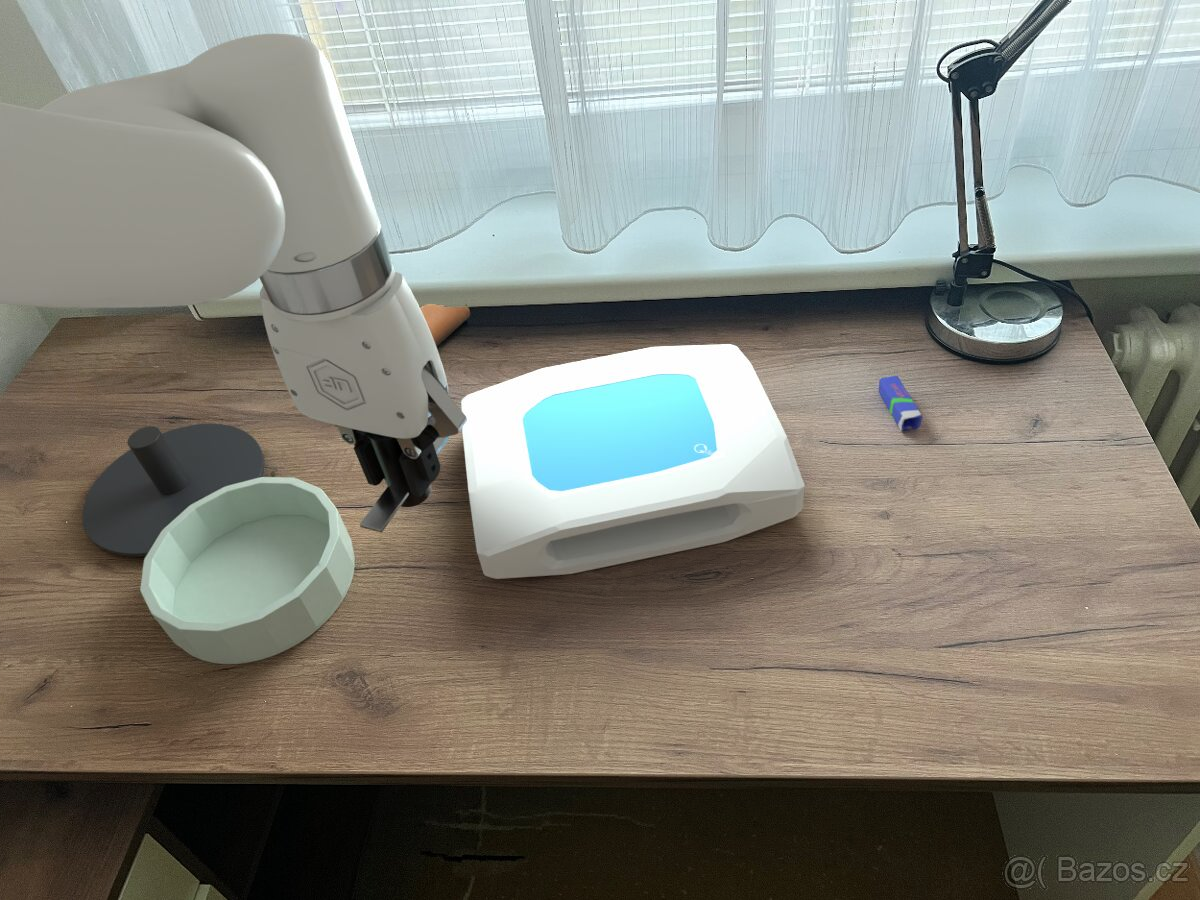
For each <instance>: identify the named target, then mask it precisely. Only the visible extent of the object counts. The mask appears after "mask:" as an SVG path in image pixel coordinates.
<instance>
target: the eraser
mask: <svg viewBox="0 0 1200 900" xmlns="http://www.w3.org/2000/svg"><path fill="white" fill-rule="evenodd" d="M878 394H879V395H880V397H881V399H882V401H883V403H884V404H885V406H886V407H887V409H888V411H889V412H890V415H891V416H892V418H893V420H894V421H895V423H896V425H897V427H898V428H899V430H900V431H901V432H903V431H910V430H916V429H917V430H918V429H919V428H920V426H921V423H922V420H923V415H922V414H921V412H920V410H919V409H918V407H917V405H916V404H915V402H914V400H913V399H912V397H911V396H910V394H909V392H908V390H907V389H906V387H905V386H904V384H903V382H902V380H901V379H900V377H899V376H898V375H893V376H892V375H891V376H885V377H881V378H880V379H879V382H878Z"/></svg>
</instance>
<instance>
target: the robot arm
mask: <svg viewBox="0 0 1200 900" xmlns="http://www.w3.org/2000/svg"><path fill="white" fill-rule="evenodd" d="M348 120H349V119H348V117H347V114H346V111H345V107H344V104H343V101H342V98H341V95H340V92H339V89H338V86H337V83H336V79H335V76H334V74H333V71H332V68H331V65H330V63H329V61H328V59H327V58H326V56H325V54H324V53H323V52H322V51H321V49H320V48H318V46H316V45H315V44H314V43H313V42H312V41H310V40H308V39H306V38H304V37H301V36H299V35H295V34H288V33H259V34H253V35H247V36H244V37H239V38H235V39H231V40H228V41H225V42H223V43H220V44H217V45H215V46H213V47H211V48H209V49H207V50H205V51H203V52H202V53H200V54H199V55H197V56H196V57H194V58H193V59H191V61H189V62H188V63H186V64H184V65H180V66H176V67H173V68H169V69H165V70H160V71H156V72H152V73H148V74H143V75H139V76H134V77H130V78H123V79H118V80H113V81H109V82H103V83H99V84H95V85H90V86H86V87H82V88H79V89H75V90H73V91H69V92H68V93H65V94H62V95H61V96H59V97H57V98H55V99H53V100H51V101H50V102H48V103H47V104H45V105H43V107H41V108H40V109H38V108H31V107H27V106H21V105H17V104H12V103H6V102H3V101H0V305H7V306H8V305H11V306H19V307H33V308H34V307H35V308H55V309H122V308H124V309H125V308H129V309H130V308H167V307H168V308H169V307H170V308H171V307H173V308H174V307H187V306H194V305H200V304H201V305H203V304H207V303H210V302H215V301H218V300H222V299H226V298H228V297H231V296H233V295H235V294H238V293H240V292H243V291H244V290H245V289H247V288H248V287H249V286H251V285H253V284H254V283H256V282H257V281H258V280H260V282H261V284H262V287H261V288H260V291H259V300H260V307H261V308H260V309H261V314H262V318H263V323H264V328H265V331H266V334H267V338H268V342H269V344H270V347H271V351H272V354H273V356H274V360H275V361H276V365H277V367H278V369H279V372H280V375H281V378H282V380H283V382H284V385H285V387H286V390H287V391H288V395H289V396H290V398H291V400H292V402H293V404H294V407H296V409H297V410H298V411H299V413H301V414H302V415H303V416H305V417H307V418H310V419H312V420H315V421H319V422H322V423H325V424H329V425H334V426H335V427H336V428H337V429H338V432H339V436H340V438H341V439H342V441H343V442H345V443H346V444H348V445H350V446H353V451H354V453H355V455H356V458H357V460H358V462H359V465H360V468H361V469H362V472H363V475H364V477H365V479H366V481H367V484H368V485H371V486H374V487H377V486H379V485H380V484H381V483H382V482H383V481H384V477H383V475H382V472H381V470H380V467H379V465H378V462H377V460H376V457H375V455H374V453H373V450H372V448H371V445H370V443H369V440H368V438H367V435H366V432H370V433H374V434H379V435H384V436H389V437H395V438H397V440H398V442H399V444H400V446H401V449H402V451H403V453H402V454H401V455H400V458H399V461H400V464H401V467H402V469H403V472H404V474H405V477H406V480H407V482H408V485H409V488H410V490H411V493H412V494H413V495H415V496H419V497H421V496H422V495H423V494H424V493H425V491H426V490H427V488H428V487H429V485H431V484H432V483H434V482H435V481H436V480H437V478H438V477H439V475H440V473H441V463H440V460H439V457H438V454H437V453H436V450H435V447H434V444H433V442H435V440H436V439H437V438H440V437H442V438H444V437H448V436H449V437H451V436H457V435H458V434H459V433H460V432H461V430H462V427H463V426H464V424H465V423H466V421H467V417H466V416H465V414H464V413H463V412H462V409H461V408H460V407H459V406H458V405H457V403H456V402H455V401H454V400H453V398H452V397H451V396H450V395H449V385H448V381H447V376H446V372H445V369H444V365H443V362H442V359H441V356H440V353H439V350H438V346H437V347H436V345H435V342H434V339H433V337H432V334H431V332H430V329H429V327H428V325H427V322H426V320H425V318H424V316H423V314H422V311H421V309H420V307H419V306H420V305H419V303H418V301H417V299H416V297H415V295H414V294H413V291H412V290H411V288H410V285H408V283H407V281H406V279H405V277H404V276H403V274H402V273H400V272H397V271H395V267H394V263H393V260H392V257H391V254H390V252H389V248H388V245H387V242H386V239H385V236H384V232H383V229H382V225H381V223H380V219H379V216H378V212H377V210H376V206H375V203H374V200H373V196H372V193H371V189H370V186H369V184H368V181H367V178H366V174H365V171H364V168H363V164H362V162H361V158H360V155H359V152H358V149H357V145H356V143H355V140H354V136H353V134H352V133H353V132H352V130H351V127H350V123H349V121H348Z"/></svg>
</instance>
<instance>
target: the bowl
mask: <svg viewBox="0 0 1200 900" xmlns="http://www.w3.org/2000/svg"><path fill="white" fill-rule="evenodd" d="M355 566H356V557H355V553H354V546H353V540H352V538H351V536H350V534H349V532H348V530H347V527H346V525H345V523H344V522H343V519H342V517H341V515H340V513H339V510H338V508H337V506H335V504H334V503H333V502H332V501H331V500H330V498H329V496H328V495H327V494H326V492H325V491H324V490H323V489H322V488H321V487H318V486H316V485H313V484H312V483H308V482H306V481H303V480H302V479H298V478H297V477H280V476H277V477H275V476H274V477H273V476H263V477H260V478H256V479H252V480H248V481H244V482H240V483H237V484H233V485H229V486H226V487H223V488H221V489H219V490H218V491H216V492H214V493H212V494H210V495H208V496H206V497H204V498H203V499H201V500H199V501H197V502H195V503H193V504H191V505H190V506H189V507H187V508H186V509H185V510H184V511H183V512H182V513H181V514H180V515H179V516H177V517H176V518H175V519H174V520H173V521H172V522H171V523H170V524H169V525H167V526H166V527H165V528H164V529H163V530H162V531H161V533H160V534H159V536H158V538H157V539H156V541H155V543H154V544H153V546H152V547H151V549H150V551H149V552H148V554H147V556H144V559H143V563H142V571H141V572H142V573H141V579H140V586H139V592H140V593H141V595H142V598H143V600H144V602H145V604H146V605H147V608H148V610H149V612H150V613H151V615H152V617H153V618H154V620H155V621H157V623H158V624H159V625H160V627H161V628H162V629H163V630H164V632H165V633H166V634H167V636H168V637H169V638H170V639H171V641H172V642H173V643H174V645H175V646H177V647H179V648H180V649H182V650H183V651H184V652H186V653H187V654H189V655H190V656H191V657H194V658H196V659H199V660H201V661H204V662H208V663H212V664H219V665H239V664H248V663H253V662H257V661H262V660H265V659H268V658H270V657H274V656H277V655H279V654H280V653H283V652H285V651H287V650H290V649H291V648H293V647H295V646H296V645H299V644H300V643H302V642H303V641H304V640H306V639H308V638H309V637H310V636H312V635H313V634H314V633H315V632H317V631H318V630H319V629H320V628H321V627H323V625H325V623H326V622H328V621H329V619H331V617H332V616H333V615H334V614H335V612H336V611H337V610H338V609H339V607H340V606H341V604H342V603H343V601H344V600H345V598H346V596H347V594H348V592H349V589H350V588H351V585H352V581H353V578H354V573H355Z"/></svg>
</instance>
